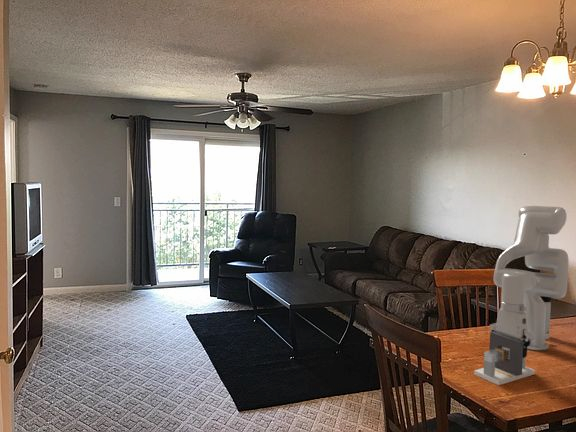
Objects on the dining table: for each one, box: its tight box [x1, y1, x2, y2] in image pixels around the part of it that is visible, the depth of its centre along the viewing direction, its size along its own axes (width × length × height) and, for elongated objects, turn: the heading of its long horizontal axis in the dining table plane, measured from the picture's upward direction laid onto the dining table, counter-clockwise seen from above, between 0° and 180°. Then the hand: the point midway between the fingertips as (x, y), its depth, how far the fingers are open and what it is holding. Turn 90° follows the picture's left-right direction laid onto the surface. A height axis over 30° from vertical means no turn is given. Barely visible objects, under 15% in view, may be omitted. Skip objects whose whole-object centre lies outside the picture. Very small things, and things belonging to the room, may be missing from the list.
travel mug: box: [540, 296, 552, 336], centre depth 206 cm, size 6×7×20 cm
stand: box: [473, 357, 536, 386], centre depth 165 cm, size 20×10×6 cm, turn 119°
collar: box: [488, 331, 523, 376], centre depth 165 cm, size 2×12×12 cm, turn 29°
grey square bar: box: [483, 346, 510, 363], centre depth 165 cm, size 19×3×3 cm, turn 119°
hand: (510, 353), depth 166 cm, fingers open, 9 cm apart
